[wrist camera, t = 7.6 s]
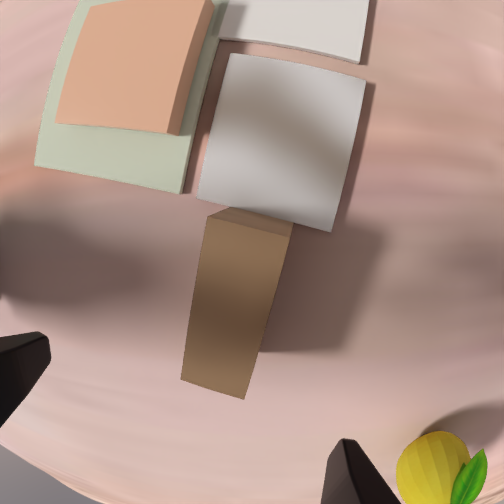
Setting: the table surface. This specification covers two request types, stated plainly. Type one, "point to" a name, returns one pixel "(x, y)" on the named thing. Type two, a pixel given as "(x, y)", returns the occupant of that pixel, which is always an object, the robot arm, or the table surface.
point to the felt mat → (120, 140)
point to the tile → (135, 65)
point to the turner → (262, 202)
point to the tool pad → (298, 25)
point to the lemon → (440, 471)
